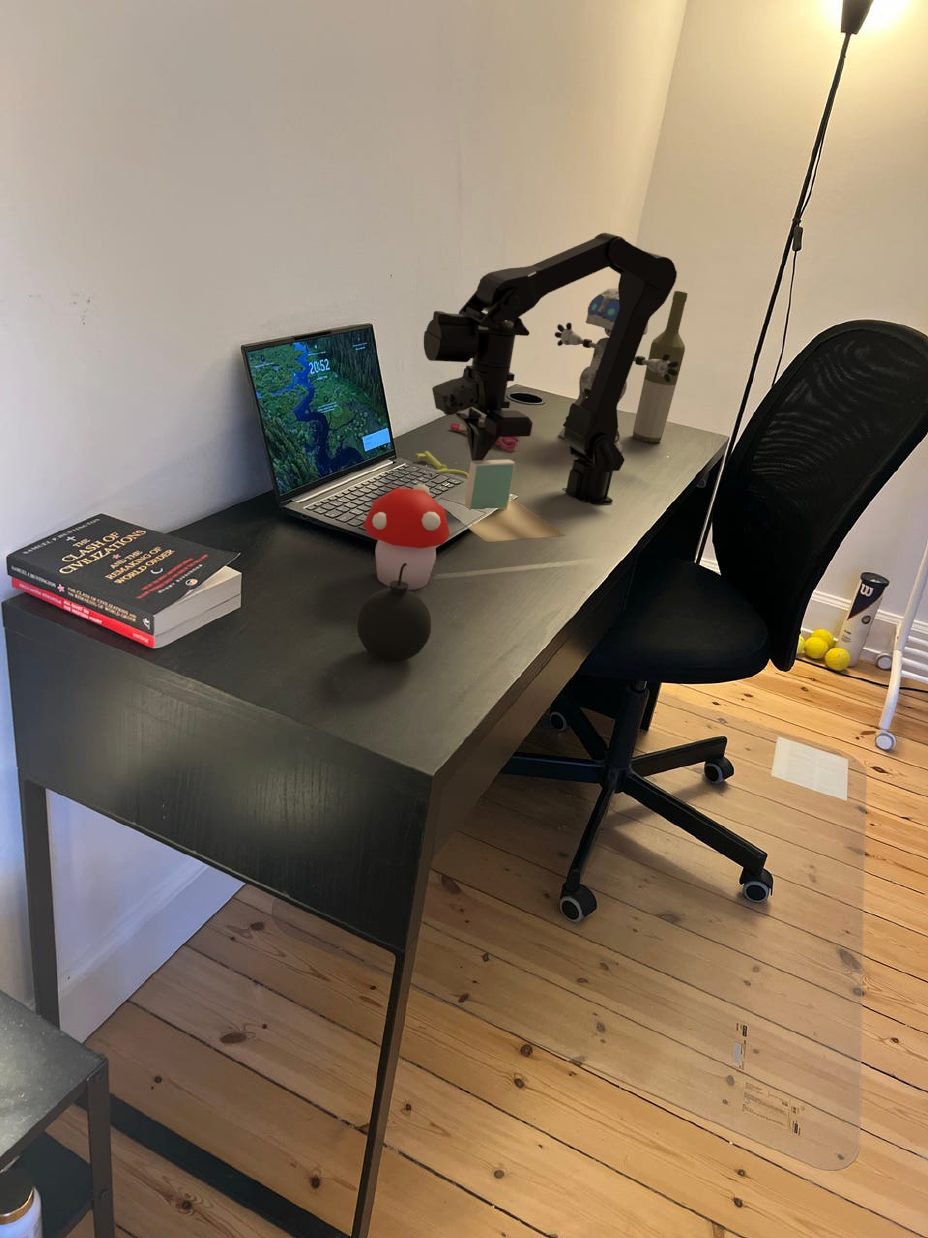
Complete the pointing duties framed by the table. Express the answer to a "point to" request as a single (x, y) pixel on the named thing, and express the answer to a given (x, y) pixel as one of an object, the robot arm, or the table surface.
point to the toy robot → (604, 316)
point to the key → (438, 464)
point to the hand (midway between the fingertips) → (475, 463)
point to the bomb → (394, 623)
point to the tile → (489, 484)
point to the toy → (504, 442)
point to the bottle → (655, 387)
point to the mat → (513, 525)
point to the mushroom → (406, 534)
